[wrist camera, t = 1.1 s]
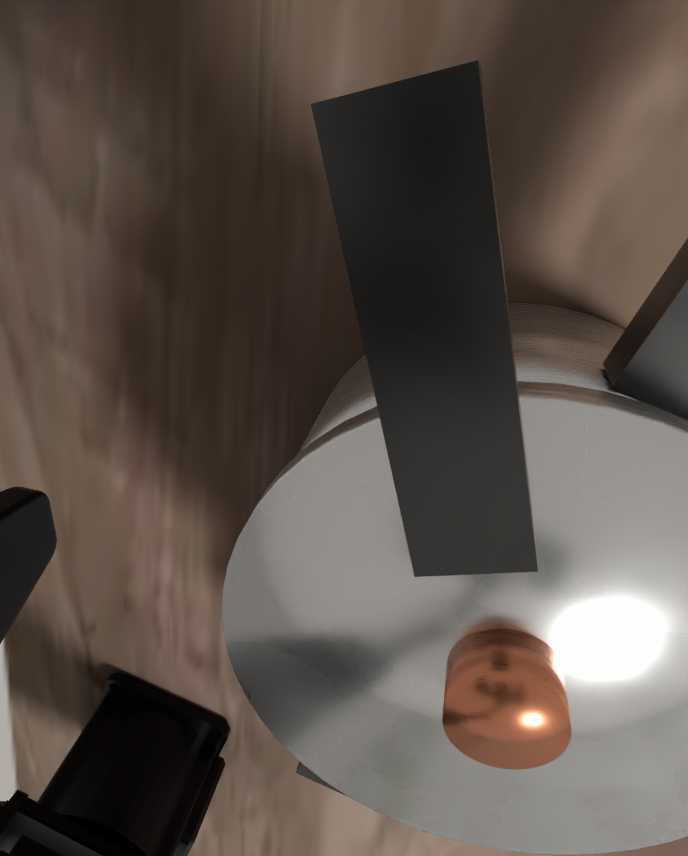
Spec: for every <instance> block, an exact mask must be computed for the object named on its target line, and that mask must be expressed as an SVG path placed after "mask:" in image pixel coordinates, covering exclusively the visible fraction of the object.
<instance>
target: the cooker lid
mask: <svg viewBox="0 0 688 856" xmlns="http://www.w3.org/2000/svg"><path fill="white" fill-rule="evenodd" d="M311 106H312V111H313V115H314V120H315V124H316V129H317V134H318V138H319V143H320V147H321V152H322V156H323V161H324V166H325V170H326V175H327V179H328V184H329V188H330V193H331V197H332V202H333V207H334V211H335V216H336V220H337V225H338V229H339V234H340V239H341V243H342V248H343V252H344V257H345V261H346V266H347V271H348V275H349V280H350V284H351V289H352V293H353V298H354V303H355V307H356V312H357V316H358V321H359V325H360V330H361V335H362V339H363V344H364V348H365V353H366V357H367V362H368V367H369V371H370V376H371V380H372V385H373V389H374V394H375V398H376V403H377V406H376V407H374V408H372V409H369V410H367V411H365V412H363V413H361V414H359V415H357V416H355V417H352V418H350V419H348V420H346V421H344V422H342V423H341V424H339V425H338V426H336V427H335V428H333V429H331V430H330V431H328V432H327V433H325V434H324V435H322V436H321V437H319V438H317V439H316V440H314V441H313V442H312V443H311V444H309V445H308V446H307V447H306V448H305V449H304V450H303V451H301V452H300V453H299V454H298V455H297V456H296V457H295V458H293V459H292V460H291V461H290V462H289V463H288V464H287V465H286V466H285V467H284V468H283V470H282V471H281V472H280V473H279V474H278V476H277V477H276V478H275V479H274V480H273V482H272V483H271V484H270V485H269V486H268V488H267V489H266V490H265V492H264V494H263V495H262V497H261V499H260V501H259V502H258V504H257V506H256V507H255V509H254V511H253V512H252V514H251V516H250V518H249V519H248V521H247V523H246V525H245V526H244V528H243V530H242V532H241V533H240V535H239V537H238V539H237V541H236V544H235V547H234V549H233V552H232V555H231V557H230V560H229V563H228V566H227V571H226V576H225V582H224V587H223V593H222V622H223V628H224V635H225V642H226V647H227V650H228V653H229V657H230V660H231V663H232V666H233V669H234V672H235V674H236V676H237V679H238V681H239V683H240V685H241V687H242V689H243V691H244V693H245V695H246V697H247V699H248V700H249V702H250V703H251V705H252V706H253V708H254V709H255V711H256V712H257V714H258V716H259V717H260V719H261V720H262V721H263V722H264V724H265V725H266V726H267V727H268V728H269V730H270V731H271V732H272V733H273V735H274V736H275V737H276V738H277V739H278V741H279V742H280V743H281V744H282V745H283V746H284V747H286V748H287V749H288V750H289V751H290V752H291V753H292V754H293V755H294V756H295V757H296V758H297V759H298V760H299V761H300V762H301V763H302V764H304V765H305V766H306V767H307V768H309V769H310V770H311V771H312V772H314V773H315V774H316V775H317V776H319V777H320V778H321V779H322V780H324V781H325V782H327V783H328V784H330V785H331V786H333V787H335V788H336V789H338V790H339V791H341V792H342V793H344V794H345V795H347V796H348V797H350V798H352V799H354V800H356V801H357V802H359V803H361V804H363V805H365V806H367V807H368V808H370V809H372V810H374V811H376V812H378V813H380V814H383V815H385V816H387V817H389V818H392V819H394V820H396V821H399V822H401V823H403V824H406V825H408V826H411V827H414V828H417V829H420V830H423V831H425V832H428V833H431V834H434V835H437V836H441V837H445V838H449V839H452V840H456V841H460V842H463V843H467V844H473V845H478V846H483V847H488V848H494V849H499V850H508V851H516V852H525V853H536V854H563V855H571V854H595V853H608V852H616V851H624V850H632V849H638V848H643V847H648V846H652V845H657V844H662V843H667V842H671V841H674V840H677V839H680V838H684V837H687V836H688V421H687V420H685V419H683V418H680V417H678V416H676V415H674V414H671V413H669V412H667V411H664V410H662V409H660V408H658V407H655V406H653V405H650V404H647V403H643V402H640V401H637V400H633V399H630V398H626V397H623V396H620V395H616V394H613V393H610V392H606V391H601V390H595V389H589V388H583V387H577V386H571V385H566V384H560V383H544V382H525V381H517V373H516V365H515V356H514V348H513V339H512V330H511V322H510V313H509V305H508V296H507V287H506V279H505V270H504V262H503V253H502V244H501V236H500V227H499V219H498V210H497V201H496V193H495V184H494V176H493V167H492V158H491V150H490V141H489V132H488V124H487V115H486V107H485V98H484V89H483V81H482V72H481V66H480V64H479V61H478V60H477V61H473V62H470V63H466V64H462V65H458V66H454V67H451V68H447V69H443V70H439V71H435V72H432V73H428V74H424V75H420V76H416V77H413V78H409V79H405V80H401V81H397V82H394V83H390V84H386V85H382V86H378V87H375V88H371V89H367V90H363V91H359V92H356V93H352V94H348V95H344V96H340V97H337V98H333V99H329V100H325V101H321V102H318V103H314V104H311Z"/></svg>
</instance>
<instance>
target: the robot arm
mask: <svg viewBox="0 0 688 856" xmlns="http://www.w3.org/2000/svg"><path fill="white" fill-rule="evenodd" d="M56 543H57V536H56V531H55V526H54V521H53V516H52V511H51V506H50V502H49V498H48V497H47V496H46V494H45V493H43V492H42V491H38V490H33V489H29V488H24V487H12V488H9V489H6V490H4V491H1V492H0V643H1V642H2V640H3V639H4V637H5V635H6V634H7V632H8V630H9V629H10V627H11V625H12V624H13V622H14V620H15V619H16V617H17V615H18V614H19V612H20V610H21V608H22V607H23V605H24V603H25V602H26V600H27V598H28V597H29V595H30V593H31V592H32V590H33V588H34V587H35V585H36V583H37V581H38V580H39V578H40V576H41V575H42V573H43V571H44V570H45V568H46V566H47V565H48V563H49V561H50V560H51V558H52V556H53V554H54V551H55V548H56ZM229 733H230V726H229V725H228V724H227V723H225V722H223V721H221V720H219V719H217V718H215V717H212V716H210V715H208V714H206V713H204V712H201V711H199V710H197V709H195V708H193V707H191V706H188V705H186V704H184V703H182V702H180V701H177V700H175V699H173V698H171V697H169V696H167V695H164V694H162V693H160V692H158V691H156V690H153V689H151V688H149V687H147V686H145V685H143V684H140V683H138V682H136V681H134V680H132V679H129V678H127V677H125V676H123V675H121V674H117V673H113V674H111V675H110V676H109V678H108V679H107V681H106V682H105V685H104V688H103V691H102V694H101V698H100V701H99V704H98V707H97V709H96V711H95V712H94V714H93V715H92V717H91V719H90V720H89V722H88V723H87V725H86V726H85V728H84V729H83V731H82V733H81V734H80V736H79V737H78V739H77V740H76V742H75V743H74V745H73V747H72V748H71V750H70V751H69V753H68V754H67V756H66V757H65V759H64V760H63V762H62V764H61V765H60V767H59V768H58V770H57V771H56V773H55V774H54V776H53V778H52V779H51V781H50V782H49V784H48V785H47V787H46V788H45V790H44V792H43V793H42V795H41V796H40V798H39V799H38V801H37V802H36V801H34V800H32V799H30V798H28V796H29V795H28V794H26V793H24V792H22V791H20V790H18V789H17V791H16V792H15V793H14V795H13V796H12V798H11V799H10V800H9V801H8V800H7V801H6V802H5V801H0V856H187V855H188V853H189V851H190V849H191V847H192V845H193V844H194V842H195V839H196V837H197V834H198V832H199V829H200V827H201V824H202V822H203V819H204V817H205V814H206V812H207V809H208V807H209V804H210V802H211V799H212V797H213V794H214V792H215V789H216V786H217V784H218V781H219V779H220V776H221V774H222V771H223V769H224V766H225V761H224V758H222V757H220V756H219V754H220V752H221V750H222V748H223V746H224V744H225V742H226V740H227V738H228V736H229Z"/></svg>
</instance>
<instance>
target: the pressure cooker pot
mask: <svg viewBox="0 0 688 856" xmlns="http://www.w3.org/2000/svg"><path fill="white" fill-rule="evenodd" d="M508 305H509V313H510V322H511V330H512V339H513V348H514V356H515V365H516V373H517V381H525V382H544V383H560V384H566V385H571V386H577V387H583V388H589V389H595V390H601V391H606V392H610V393H613V394H616V395H620V396H623V397H626V398H630V399H633V400H637V401H640V402H643V403H647V404H650V405H653V406H655V407H658V408H660V409H662V410H664V411H667V412H669V413H671V414H674V415H676V416H678V417H680V418H683V419H685V420H687V421H688V239H687V240H686V241H685V243H684V244H683V246H682V247H681V249H680V250H679V252H678V253H677V255H676V256H675V258H674V259H673V261H672V262H671V263H670V265H669V266H668V268H667V269H666V271H665V272H664V274H663V275H662V277H661V278H660V280H659V281H658V283H657V284H656V286H655V287H654V288H653V290H652V291H651V293H650V294H649V296H648V297H647V299H646V300H645V302H644V303H643V305H642V306H641V308H640V309H639V310H638V312H637V313H636V315H635V316H634V318H633V319H632V321H631V322H630V324H629V325H628V327H627V328H626V330H624V329H623V328H621V327H619V326H617V325H615V324H612V323H610V322H607V321H605V320H602V319H600V318H597V317H594V316H592V315H589V314H586V313H582V312H578V311H574V310H570V309H566V308H562V307H558V306H550V305H541V304H532V303H508ZM376 406H377V403H376V398H375V394H374V389H373V385H372V380H371V376H370V371H369V367H368V362H367V357H366V354H365V355H363V356H362V357H361V358H360V359H359V360H358V361H357V362H356V363H355V364H354V365H353V366H352V367H351V368H350V369H349V370H348V371H347V372H346V373H345V375H344V376H343V377H342V379H341V380H340V381H339V383H338V384H337V385H336V387H335V388H334V389H333V391H332V392H331V394H330V395H329V397H328V399H327V401H326V403H325V405H324V407H323V408H322V410H321V412H320V414H319V416H318V418H317V420H316V421H315V423H314V425H313V427H312V429H311V431H310V432H309V434H308V436H307V438H306V440H305V442H304V444H303V445H302V447H301V449H300V451H299V453H300V452H301V451H303V450H304V449H305V448H306V447H307V446H308V445H309V444H311V443H312V442H313V441H314V440H316V439H317V438H319V437H321V436H322V435H324V434H325V433H327V432H328V431H330V430H331V429H333V428H335V427H336V426H338V425H339V424H341V423H342V422H344V421H346V420H348V419H350V418H352V417H355V416H357V415H359V414H361V413H363V412H365V411H367V410H369V409H372V408H374V407H376ZM299 453H298V454H299ZM296 773H298V774H300V775H302V776H304V777H307V778H309V779H311V780H313V781H315V782H317V783H320V784H322V785H324V786H326V787H328V788H331V789H333V790H335V791H337V792H339V793H341V794H344V793H342V792H341V791H339V790H338V789H336V788H335V787H333V786H331V785H330V784H328V783H327V782H325V781H324V780H322V779H321V778H320V777H319V776H317V775H316V774H315V773H314V772H312V771H311V770H310V769H309V768H307V767H306V766H305V765H304V764H302V763H301V762H300V761H299V764H298V768H297V771H296ZM344 795H345V794H344ZM346 796H347V795H346ZM422 831H423V830H422Z"/></svg>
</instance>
